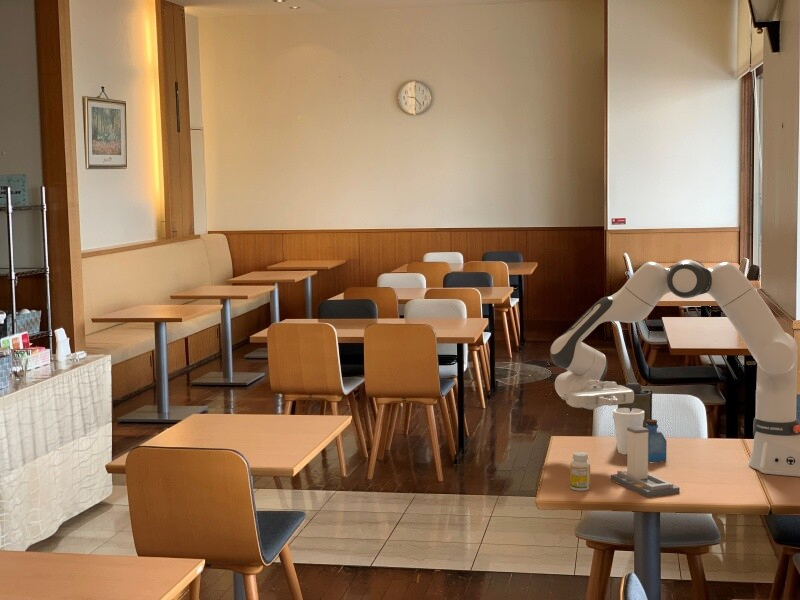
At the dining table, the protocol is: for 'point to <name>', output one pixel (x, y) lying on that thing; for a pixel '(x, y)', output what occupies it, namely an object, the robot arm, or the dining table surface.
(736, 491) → the dining table surface
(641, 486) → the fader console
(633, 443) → the cream rectangular block
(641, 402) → the canister
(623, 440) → the foam cup
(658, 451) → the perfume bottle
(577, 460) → the supplement bottle
